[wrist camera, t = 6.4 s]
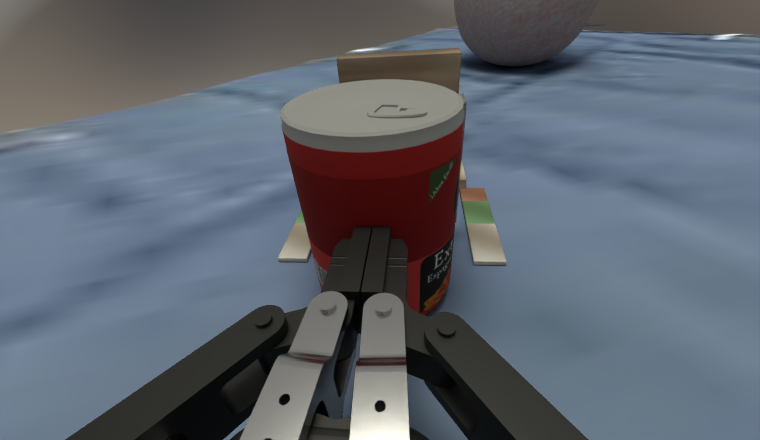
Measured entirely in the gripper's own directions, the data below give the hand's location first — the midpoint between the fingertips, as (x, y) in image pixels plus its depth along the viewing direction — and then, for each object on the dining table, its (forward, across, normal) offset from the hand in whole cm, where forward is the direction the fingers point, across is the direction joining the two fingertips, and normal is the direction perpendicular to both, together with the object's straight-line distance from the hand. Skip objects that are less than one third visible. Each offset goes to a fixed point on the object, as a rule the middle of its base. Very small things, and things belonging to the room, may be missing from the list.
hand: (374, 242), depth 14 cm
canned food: (+4, 0, +6) cm, 7 cm away
